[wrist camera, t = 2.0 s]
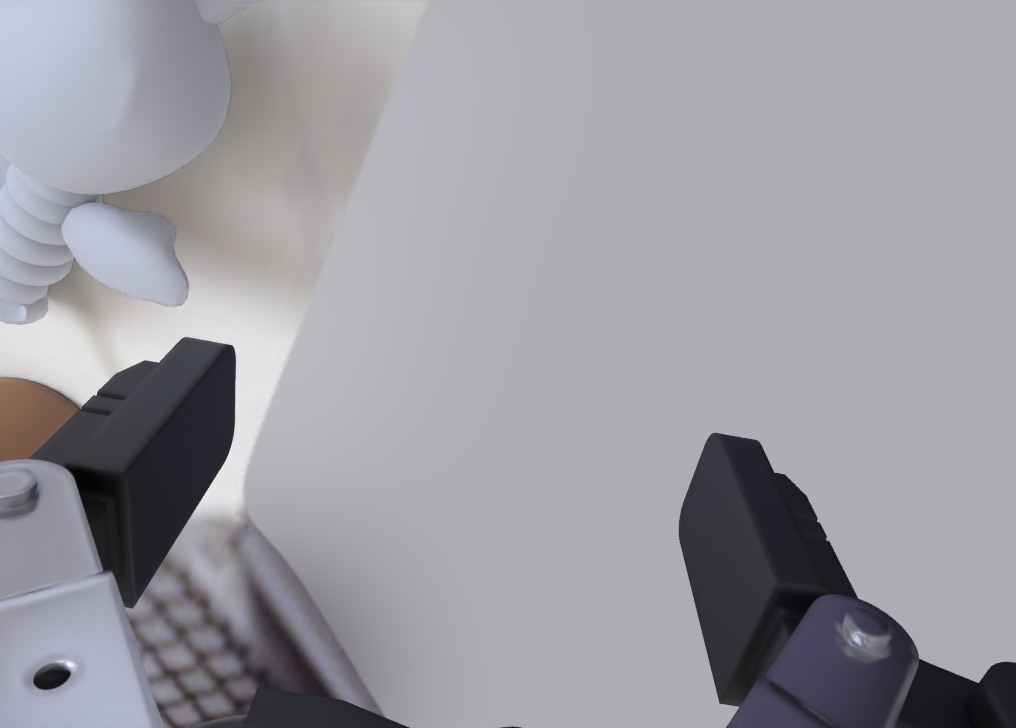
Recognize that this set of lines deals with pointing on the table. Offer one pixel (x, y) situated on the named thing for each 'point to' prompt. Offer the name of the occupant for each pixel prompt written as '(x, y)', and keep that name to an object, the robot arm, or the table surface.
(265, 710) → the robot arm
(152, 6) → the toy creature
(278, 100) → the table surface
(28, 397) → the cork coaster
